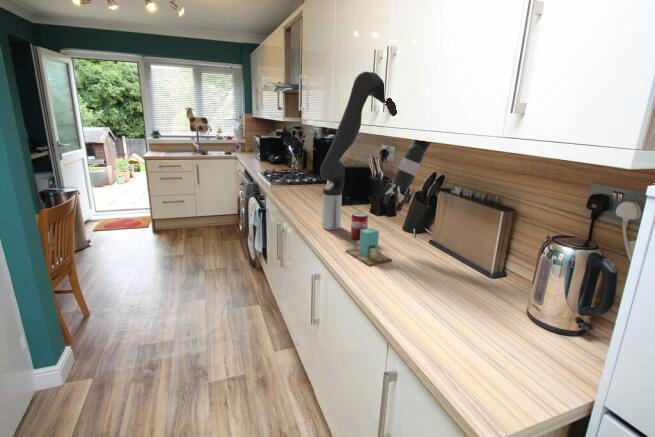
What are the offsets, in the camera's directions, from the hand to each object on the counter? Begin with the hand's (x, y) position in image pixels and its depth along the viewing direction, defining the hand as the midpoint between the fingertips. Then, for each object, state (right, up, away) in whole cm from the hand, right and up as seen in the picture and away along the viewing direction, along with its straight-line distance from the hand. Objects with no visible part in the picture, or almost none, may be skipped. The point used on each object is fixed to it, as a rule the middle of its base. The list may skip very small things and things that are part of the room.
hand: (391, 207), depth 145 cm
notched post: (-10, -19, -6) cm, 23 cm away
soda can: (-12, -14, +13) cm, 23 cm away
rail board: (-10, -20, -6) cm, 23 cm away
